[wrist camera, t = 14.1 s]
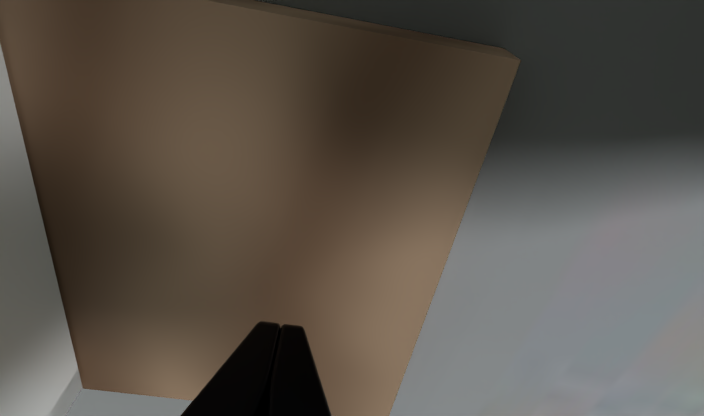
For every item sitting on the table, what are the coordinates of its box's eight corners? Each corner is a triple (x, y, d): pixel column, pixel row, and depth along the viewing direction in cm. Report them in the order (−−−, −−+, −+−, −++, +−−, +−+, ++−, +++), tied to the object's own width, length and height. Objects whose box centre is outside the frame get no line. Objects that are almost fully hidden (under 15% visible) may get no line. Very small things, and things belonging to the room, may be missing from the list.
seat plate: (504, 48, 10) (559, 88, 7) (384, 392, 17) (390, 479, 14) (-459, -137, 8) (-855, -177, 6) (-162, 328, 15) (-277, 414, 12)
